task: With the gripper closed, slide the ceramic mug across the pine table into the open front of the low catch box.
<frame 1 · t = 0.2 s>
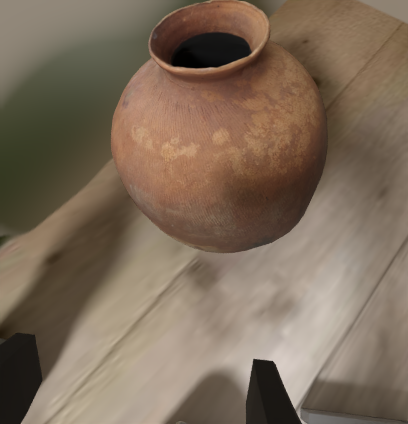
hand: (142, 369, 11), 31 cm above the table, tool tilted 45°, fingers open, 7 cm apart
pottery: (218, 192, 48), on the table
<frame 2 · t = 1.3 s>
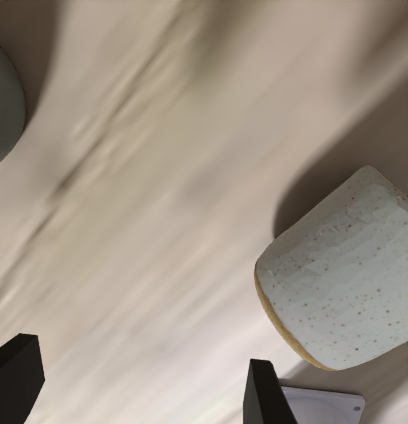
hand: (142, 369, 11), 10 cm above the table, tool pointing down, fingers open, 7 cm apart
ceramic mug: (350, 247, 20), on the table
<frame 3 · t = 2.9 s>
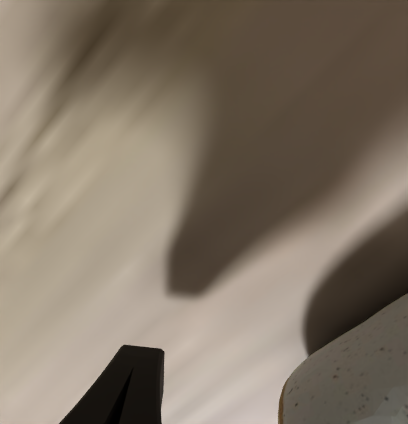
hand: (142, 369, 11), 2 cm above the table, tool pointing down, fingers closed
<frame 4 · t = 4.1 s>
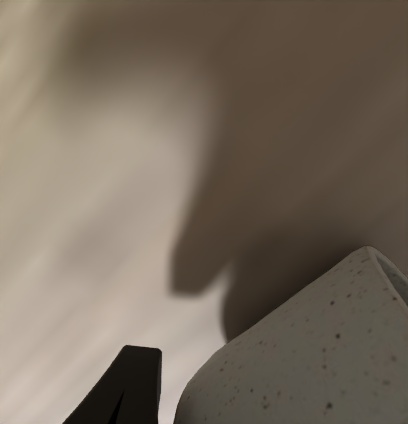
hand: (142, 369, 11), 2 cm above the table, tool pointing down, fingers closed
ceramic mug: (339, 346, 13), on the table, touching gripper
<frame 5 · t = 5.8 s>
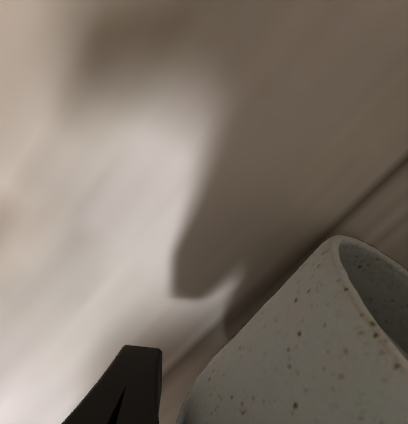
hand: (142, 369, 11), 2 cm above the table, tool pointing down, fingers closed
ceramic mug: (341, 338, 13), on the table, touching gripper
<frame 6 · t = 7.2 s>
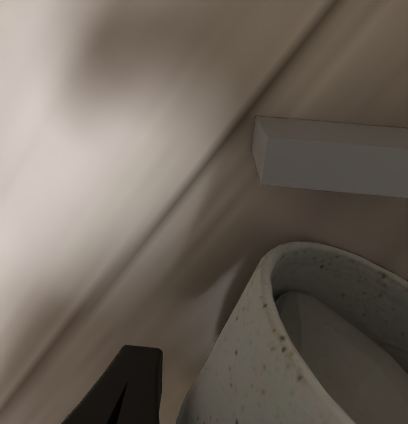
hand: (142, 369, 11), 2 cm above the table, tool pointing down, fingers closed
catch box: (345, 339, 13), on the table
ceramic mug: (329, 335, 13), on the table, touching gripper
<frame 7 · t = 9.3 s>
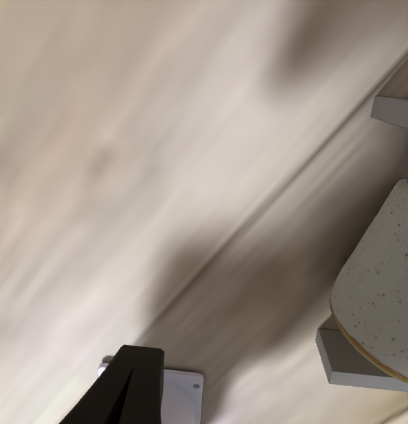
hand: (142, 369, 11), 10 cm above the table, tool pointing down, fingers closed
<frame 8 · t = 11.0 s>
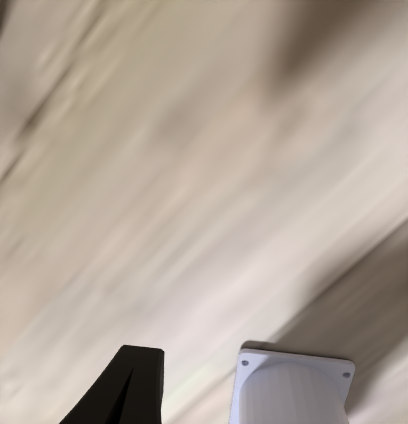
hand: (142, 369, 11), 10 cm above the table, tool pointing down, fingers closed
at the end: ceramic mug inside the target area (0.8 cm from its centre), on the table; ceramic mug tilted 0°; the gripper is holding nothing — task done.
